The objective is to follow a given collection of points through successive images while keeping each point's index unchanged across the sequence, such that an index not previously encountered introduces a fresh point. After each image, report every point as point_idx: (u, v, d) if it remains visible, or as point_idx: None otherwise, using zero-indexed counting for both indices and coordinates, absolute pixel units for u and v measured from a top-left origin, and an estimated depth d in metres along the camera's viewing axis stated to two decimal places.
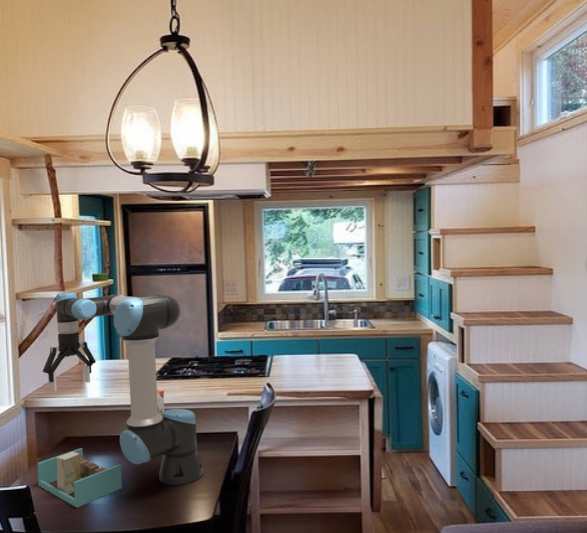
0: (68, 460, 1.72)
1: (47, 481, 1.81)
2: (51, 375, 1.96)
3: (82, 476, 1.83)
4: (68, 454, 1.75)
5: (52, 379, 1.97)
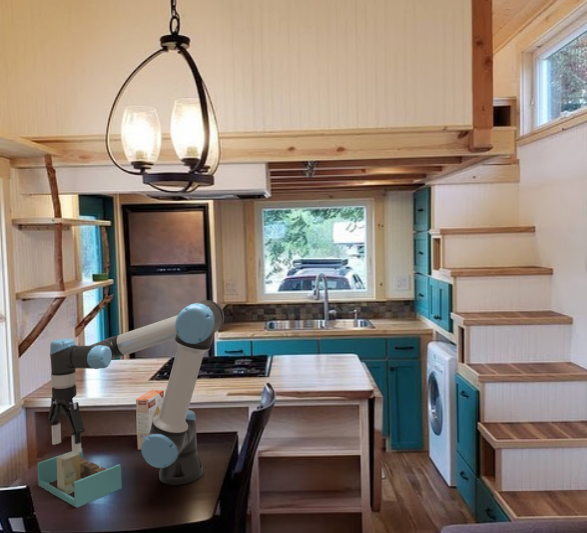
0: (68, 460, 1.72)
1: (47, 481, 1.81)
2: None
3: (82, 476, 1.83)
4: (68, 454, 1.75)
5: None
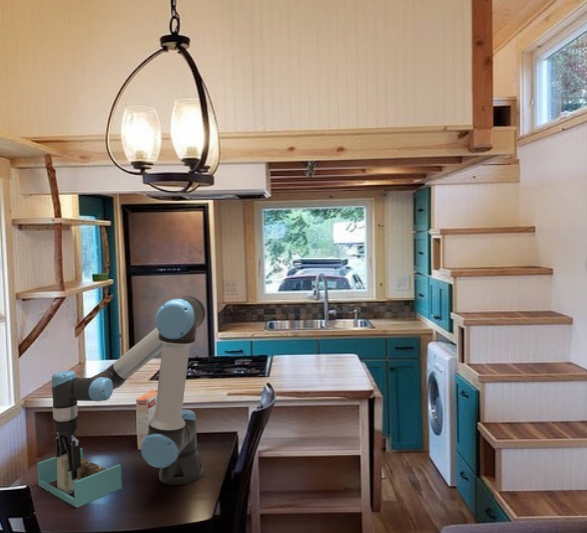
0: None
1: (47, 481, 1.81)
2: None
3: (82, 476, 1.83)
4: None
5: None
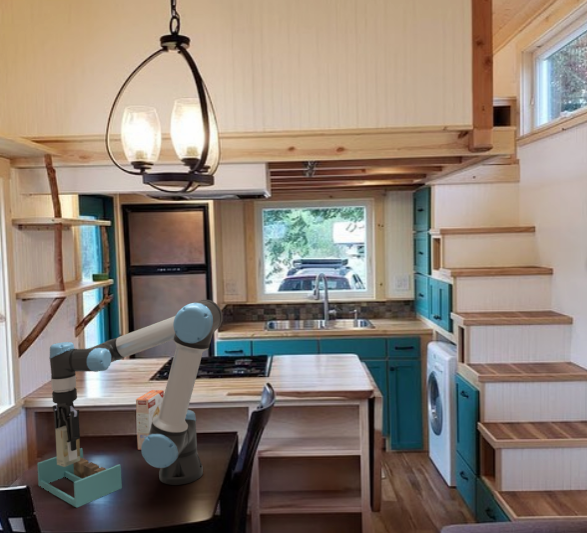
0: None
1: (47, 481, 1.81)
2: None
3: (82, 476, 1.83)
4: None
5: None
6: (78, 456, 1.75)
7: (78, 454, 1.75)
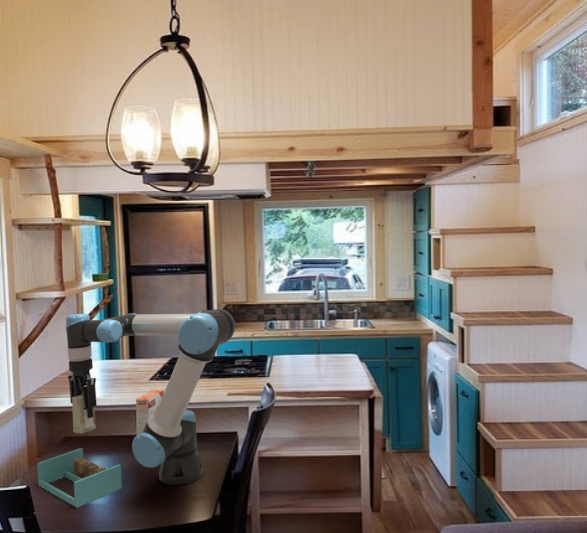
0: (83, 399, 1.77)
1: (47, 481, 1.81)
2: None
3: (82, 476, 1.83)
4: None
5: None
6: (94, 424, 1.80)
7: (94, 422, 1.80)
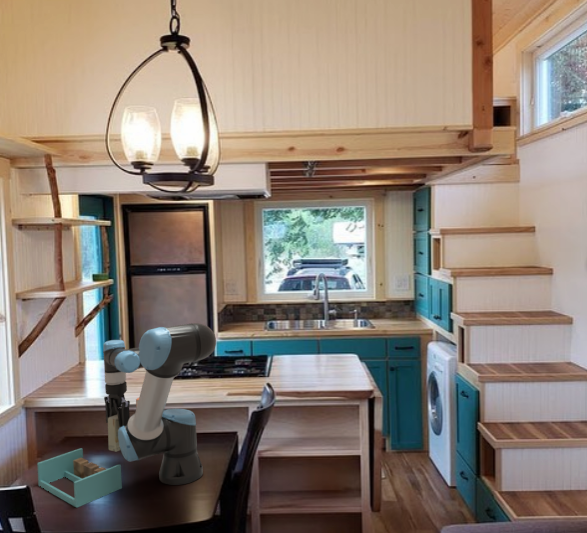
0: None
1: (47, 481, 1.81)
2: None
3: (82, 476, 1.83)
4: (117, 415, 1.94)
5: None
6: None
7: None
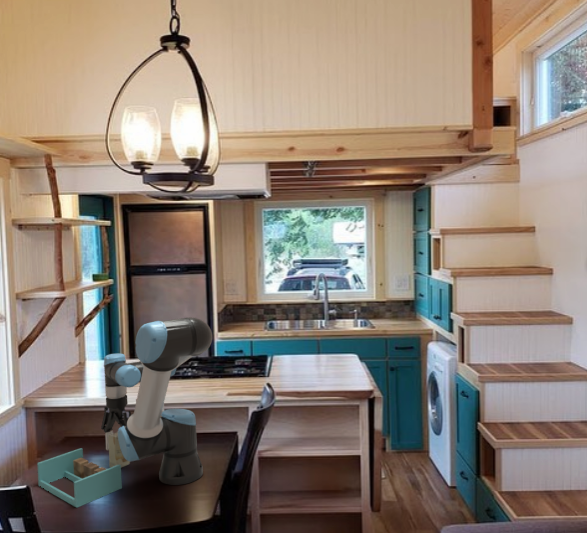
0: None
1: (47, 481, 1.81)
2: None
3: (82, 476, 1.83)
4: None
5: None
6: None
7: None
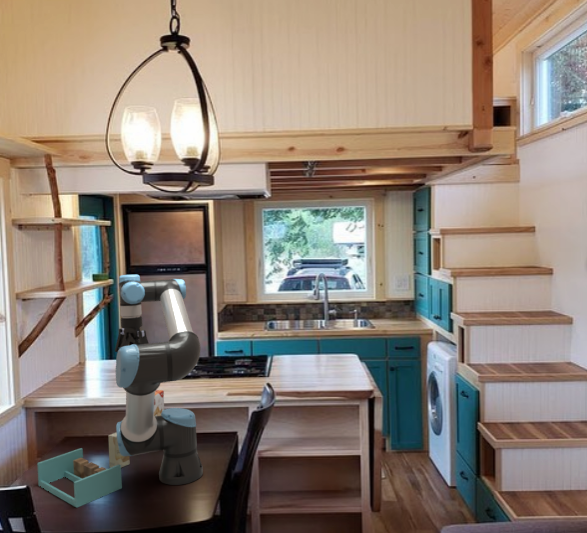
0: None
1: (47, 481, 1.81)
2: None
3: (82, 476, 1.83)
4: None
5: None
6: (128, 460, 1.94)
7: (128, 458, 1.94)
